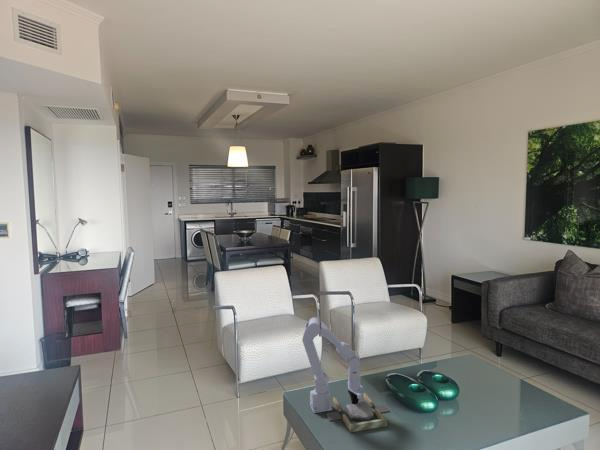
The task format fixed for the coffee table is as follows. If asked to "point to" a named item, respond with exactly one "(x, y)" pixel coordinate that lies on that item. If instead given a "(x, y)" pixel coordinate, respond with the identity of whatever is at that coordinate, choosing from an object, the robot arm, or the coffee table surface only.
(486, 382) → the coffee table surface
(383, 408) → the trap pits
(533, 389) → the coffee table surface
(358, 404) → the stone block
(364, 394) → the tan u-shaped piece
